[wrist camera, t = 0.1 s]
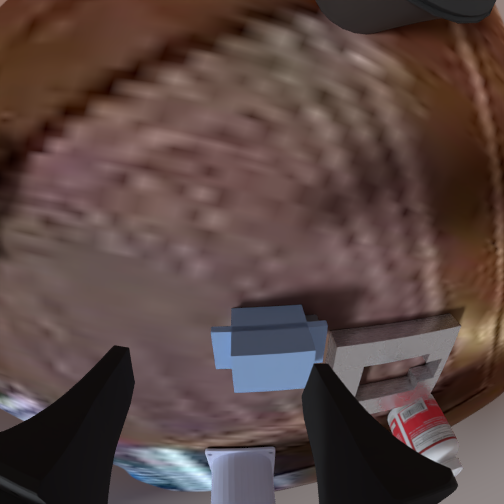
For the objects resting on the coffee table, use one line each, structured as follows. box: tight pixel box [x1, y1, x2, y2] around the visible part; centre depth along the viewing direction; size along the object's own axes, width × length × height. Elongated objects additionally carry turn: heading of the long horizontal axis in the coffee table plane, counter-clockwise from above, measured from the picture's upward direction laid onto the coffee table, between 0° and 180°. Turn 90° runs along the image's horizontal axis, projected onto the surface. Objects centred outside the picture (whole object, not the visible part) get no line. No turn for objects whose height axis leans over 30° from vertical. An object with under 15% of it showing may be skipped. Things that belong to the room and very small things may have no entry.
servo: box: [211, 305, 328, 393], centre depth 20 cm, size 8×3×5 cm, turn 92°
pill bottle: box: [388, 394, 463, 477], centre depth 24 cm, size 6×6×11 cm
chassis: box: [325, 313, 461, 414], centre depth 24 cm, size 10×12×2 cm
